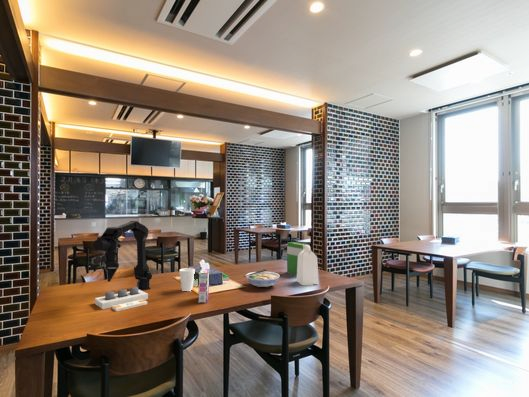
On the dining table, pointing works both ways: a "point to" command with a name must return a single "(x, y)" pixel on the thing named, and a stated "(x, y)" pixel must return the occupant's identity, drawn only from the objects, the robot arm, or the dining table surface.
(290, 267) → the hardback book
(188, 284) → the foam cup
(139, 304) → the pattern card
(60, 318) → the dining table surface
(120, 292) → the button middle
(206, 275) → the candy bar box
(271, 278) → the ramen bowl
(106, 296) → the button
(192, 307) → the dining table surface
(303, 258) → the milk
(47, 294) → the dining table surface
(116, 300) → the button board
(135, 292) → the button
